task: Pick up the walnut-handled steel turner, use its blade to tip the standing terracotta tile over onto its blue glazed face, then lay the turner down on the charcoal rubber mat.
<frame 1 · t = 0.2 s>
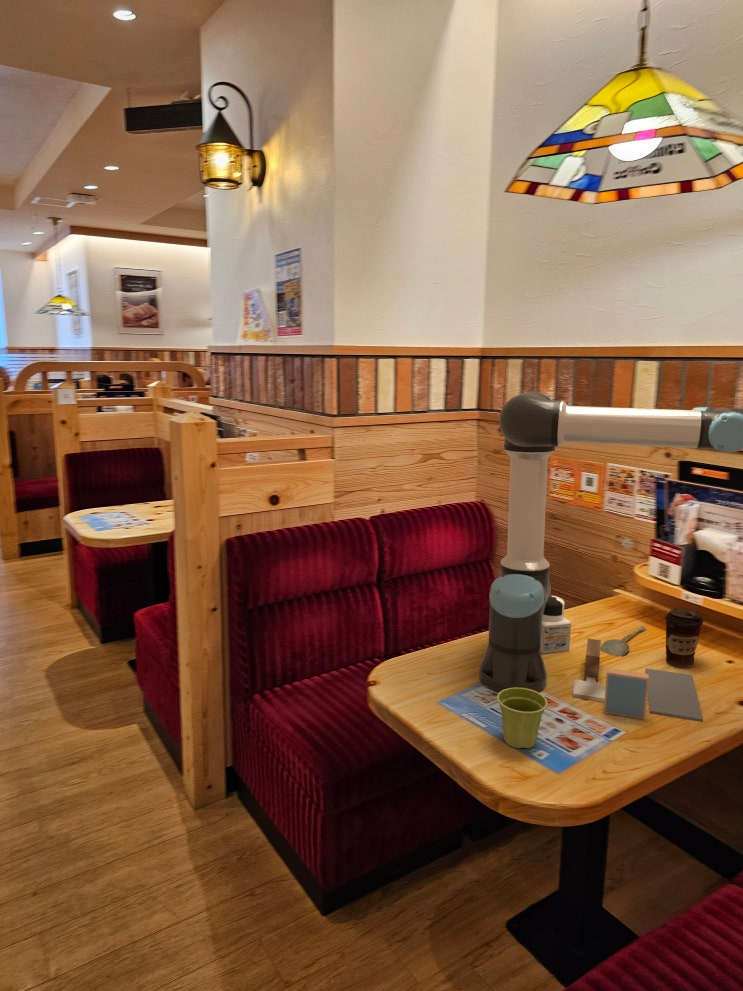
tile: (624, 713, 139), on the table
coffee cup: (679, 664, 162), on the table
container: (548, 647, 172), on the table
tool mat: (671, 693, 147), on the table
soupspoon: (626, 644, 175), on the table
turner: (591, 672, 157), on the table
plant pot: (519, 741, 129), on the table
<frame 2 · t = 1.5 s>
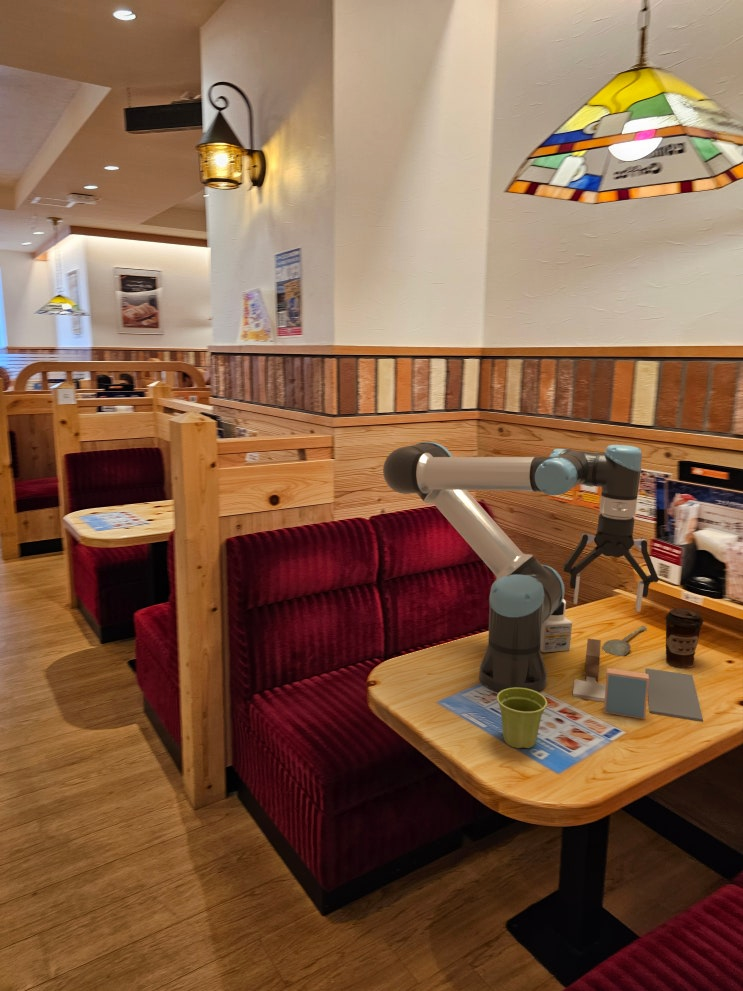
hand: (606, 605, 153), 17 cm above the table, tool pointing down, fingers open, 13 cm apart
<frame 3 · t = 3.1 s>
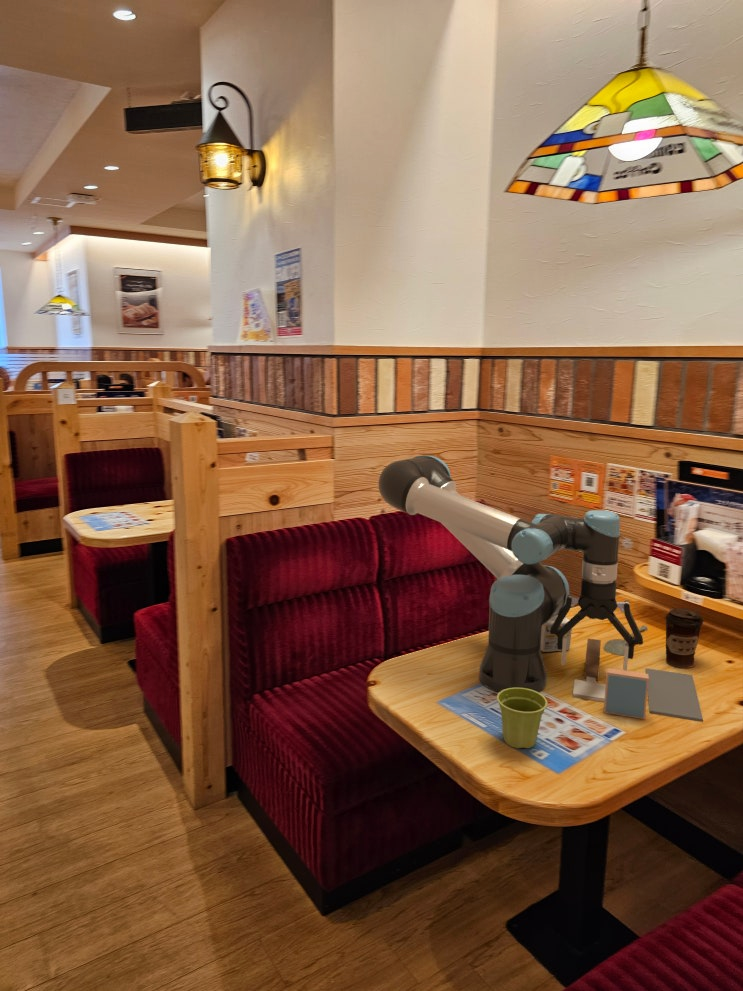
hand: (593, 666, 155), 2 cm above the table, tool pointing down, fingers open, 13 cm apart
container: (548, 646, 172), on the table, touching arm
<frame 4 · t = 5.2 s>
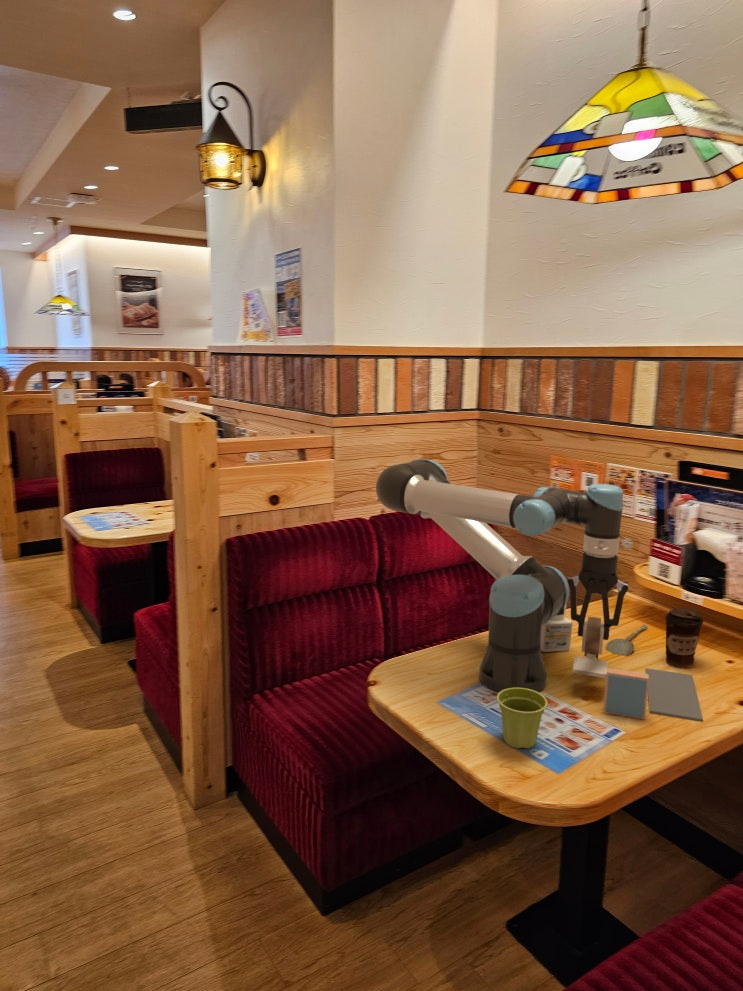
hand: (591, 650, 155), 6 cm above the table, tool pointing down, fingers closed on turner, 3 cm apart
turner: (591, 650, 156), point 6 cm above the table, touching gripper
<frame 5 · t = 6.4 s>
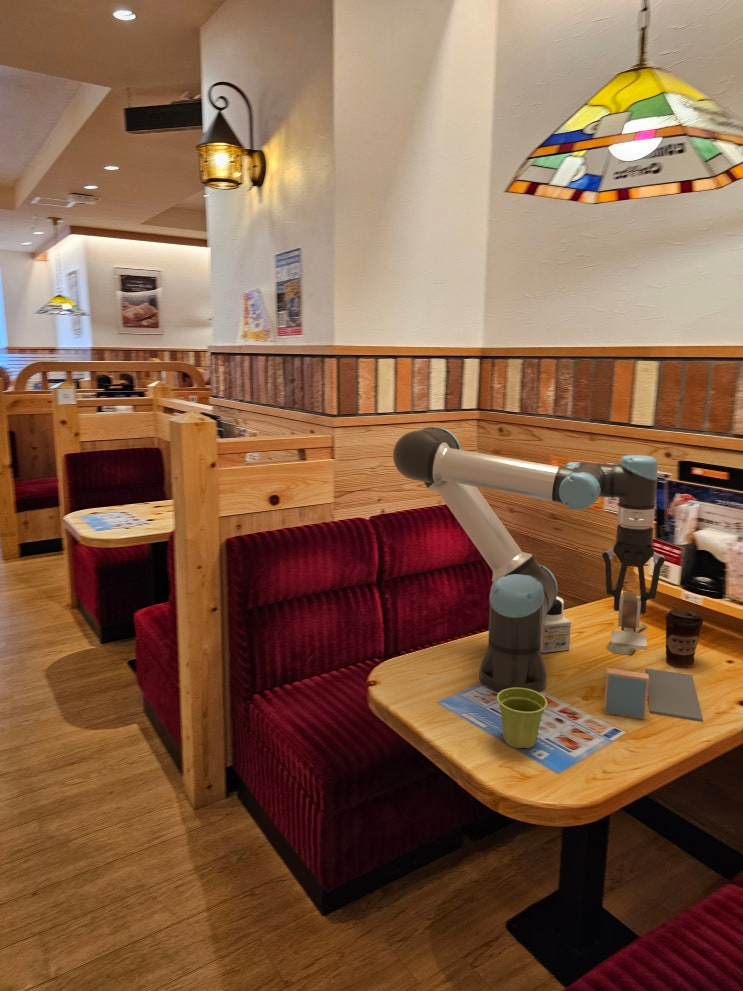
hand: (628, 625, 153), 13 cm above the table, tool pointing down, fingers closed on turner, 3 cm apart
container: (548, 646, 172), on the table
turner: (628, 625, 154), point 12 cm above the table, touching gripper
when the fingers open (1 cm above the table, at t = 13.5 s): turner stays where it is, resting on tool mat.
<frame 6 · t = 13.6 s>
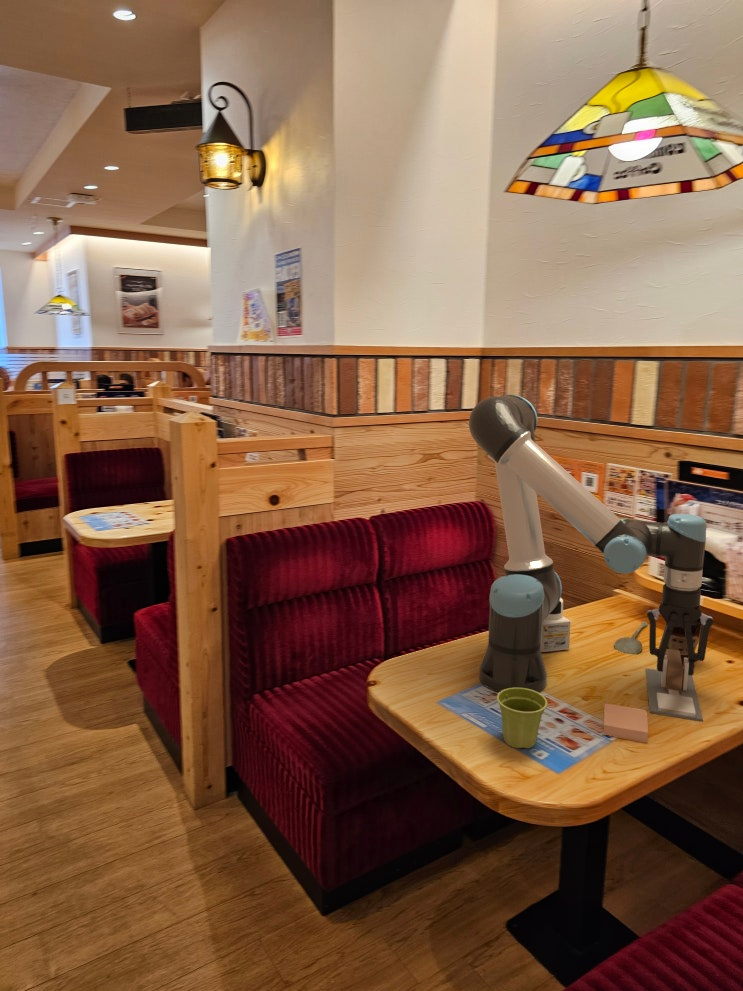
hand: (673, 685, 149), 1 cm above the table, tool pointing down, fingers open, 4 cm apart
tile: (625, 711, 138), point 1 cm above the table, tilted 90°
container: (548, 646, 172), on the table, touching arm
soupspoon: (635, 641, 177), on the table
turner: (671, 685, 150), resting on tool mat, touching gripper
everything else where it was.
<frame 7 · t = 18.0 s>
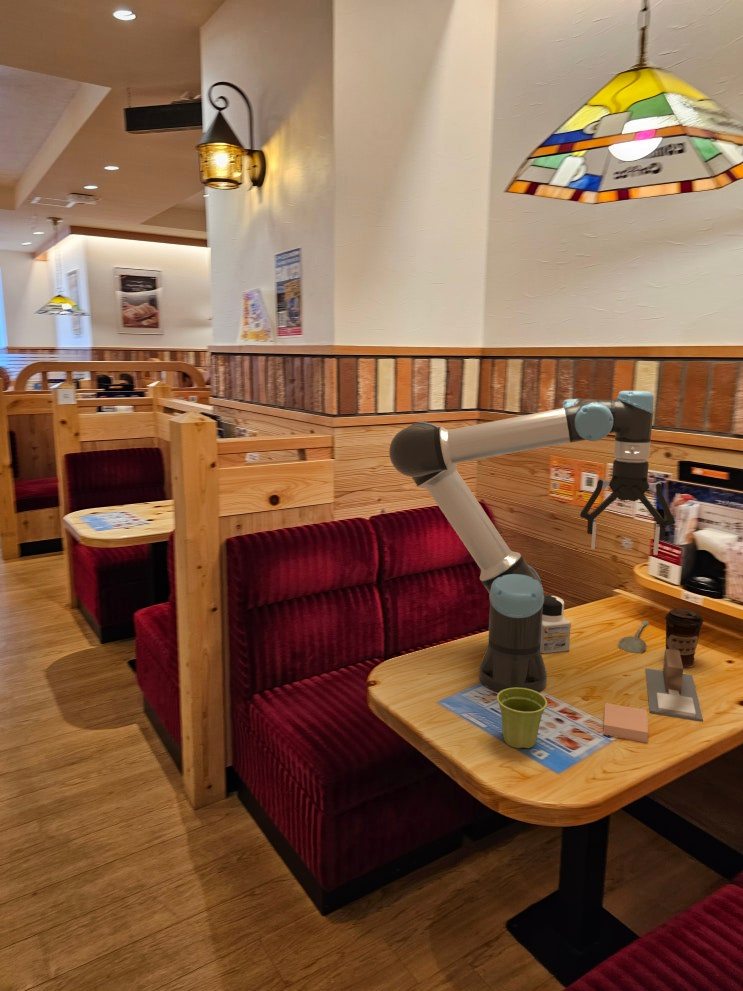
hand: (623, 550, 155), 29 cm above the table, tool pointing down, fingers open, 13 cm apart
container: (548, 647, 172), on the table
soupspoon: (637, 640, 177), on the table
turner: (671, 685, 150), resting on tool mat
everything else where it was.
at the end: tile tilted 90°; tile inside the target area (2.5 cm from its centre), point 1.0 cm above the table; turner inside the target area (1.8 cm from its centre), point 0.5 cm above the table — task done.
